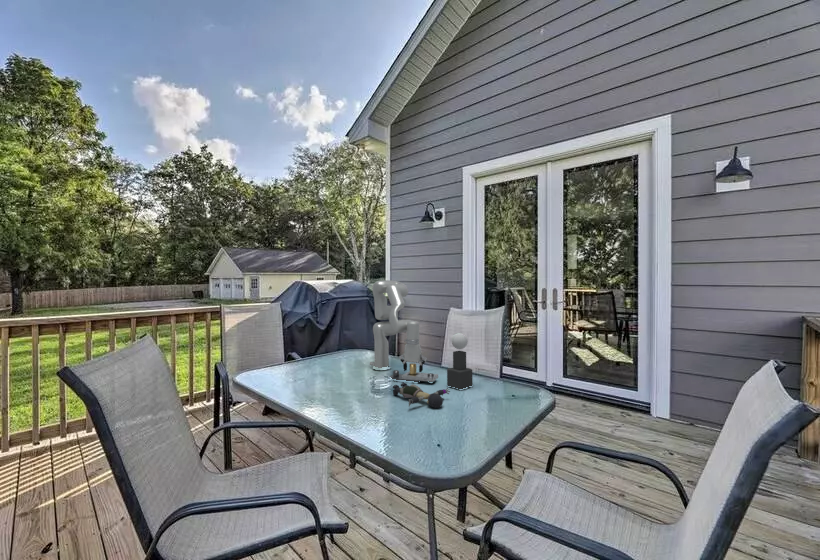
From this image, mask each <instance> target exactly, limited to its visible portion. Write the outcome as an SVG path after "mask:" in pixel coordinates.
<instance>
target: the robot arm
mask: <svg viewBox="0 0 820 560" xmlns="http://www.w3.org/2000/svg"><path fill="white" fill-rule="evenodd" d="M385 294H387V296H386V295H385ZM408 294H409V288H408V286H407V285H406V284H405V283H402V282H401V281H398V280H394V279H393V280H389V279H388V280H387V279H386V280H385V279H383V280H377V281H375V282H374V283H373V285H372V295H373V299H374V317H375V319H376V320H378V322H376V323H374V324H373V326H372V333H373V338H374V361H369V366H372V367H373V366H375V367H378V368H382V367H387V366H390V365H389V363H390V362H389V359H390V357H389V354H390V353H389V352H390V351H389V350H390V349H389V346H390V345H389V343H390V342H389V340H388V339H387V337H388V336H389V337H390V336H395V335H397V334H403V333H406V339H404V342H405V343H406V344H405V345H404V351H403V354H401V355H399V356H398V357H399V360H400V362H401V363H402V364H403V365H402V366H403V371H404V372H405V371H408V362H409V363H418V364H419V365H418V368H419V369H418V371H419V373H423V370H424V368H423V366H424V364H425V363H426V362H427V360H428V357H426V356H425V355H423V354H422V353H423V352H422V347H421V344H420V322H419V321H416V320H412V319H399V313H398V312H399V311H400V310H402V309H404V307H405V306H406V303H405V300H404V297H407V296H408ZM387 297H388V299H387ZM388 300H389V303H390V305H388ZM383 320H384V321H383ZM386 320H388V321H386Z"/></svg>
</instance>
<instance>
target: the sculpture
mask: <svg viewBox="0 0 820 560" xmlns="http://www.w3.org/2000/svg"><path fill="white" fill-rule="evenodd" d="M451 344H452V347H454V349H456V350H455V351H453V352H452V367H451V368H450V367H449V368H447V369H446V386H447V385H448V386H451V387H455V388H458V389H463V388H466V387H469V386H472V385H474V384H473V383H474V382H473V381H474V380H473V369H472V368H468V367H467V352H466V351H462V349H465V348H466V347H467V345H468V338H467V336H466V335H465V334H464V333H462V332H458V333H455V334H453V336H452V337H451Z"/></svg>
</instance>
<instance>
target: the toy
mask: <svg viewBox="0 0 820 560" xmlns="http://www.w3.org/2000/svg"><path fill="white" fill-rule="evenodd" d="M450 392H451V391H450V389H449V387H446V389H443V388H442V389H439V390H436V391H435V392H433V393H428V392H425V391H424V390H422V388H421V387H420V386H418V385H417V384H414V383H411V384H410V385H408V383H404V382H401V383H400V385H398V384H394V385H393V386H392V395H393V396H394V395H397V396H398V394H399V395H402V398H404V399H408V407H410V406H411V405H415V404H417V403H419V402H420V401H422V400H426V404H427V405H429V406H430V407H432V408H433V409H439V408H441V407H442V406H443V403H444V400H445V398H444V397H443V396H444V394H447V395H450Z"/></svg>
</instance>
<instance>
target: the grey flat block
mask: <svg viewBox="0 0 820 560" xmlns="http://www.w3.org/2000/svg"><path fill="white" fill-rule="evenodd" d="M389 377H391V378H392V379H396V380H406V381H414V382H419V381H421V382H428V381H429V382H433V381H434V382H435V381H436V380H437V379H438V378H439V374H438V373H434V372H432V373H429V372H417V371H416V376H414V375H410V371H407V372H405V373H403V374H402V373H400V370H397V369H395V370H392V374H391V375H390V376H389Z"/></svg>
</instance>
